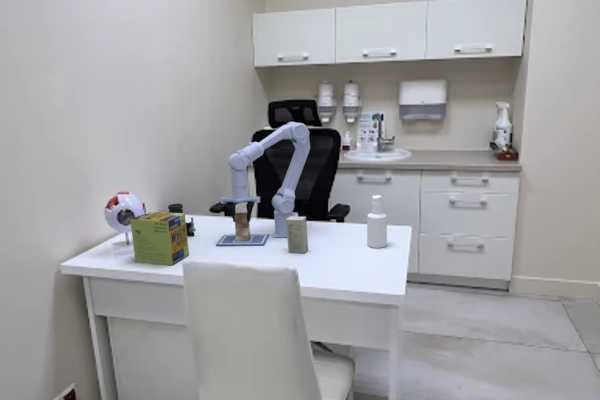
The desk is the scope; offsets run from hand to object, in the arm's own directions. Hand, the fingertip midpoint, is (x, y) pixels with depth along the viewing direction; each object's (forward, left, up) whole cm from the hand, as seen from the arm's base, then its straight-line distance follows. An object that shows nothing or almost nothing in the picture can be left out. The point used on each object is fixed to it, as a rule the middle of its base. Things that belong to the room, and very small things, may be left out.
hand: (242, 221), depth 176 cm
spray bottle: (-50, +7, -8) cm, 51 cm away
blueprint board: (0, 0, -8) cm, 8 cm away
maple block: (0, 0, -7) cm, 7 cm away
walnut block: (0, 0, -2) cm, 2 cm away
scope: (+26, -4, -8) cm, 27 cm away
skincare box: (-22, +12, -8) cm, 26 cm away
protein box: (+25, +18, -8) cm, 32 cm away
